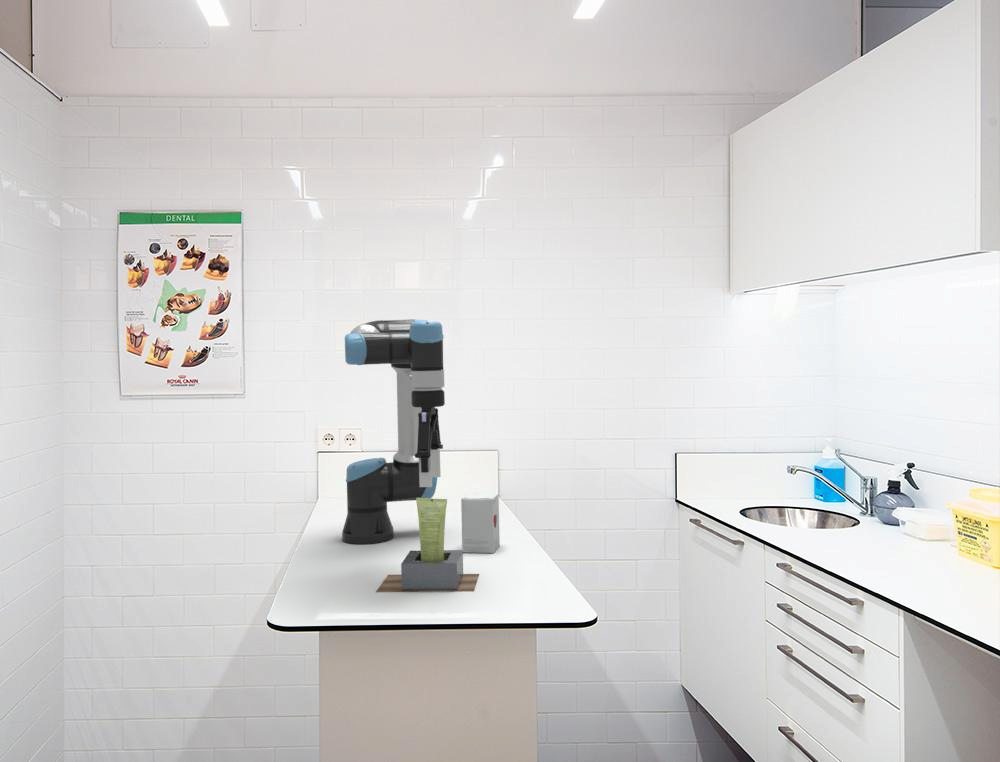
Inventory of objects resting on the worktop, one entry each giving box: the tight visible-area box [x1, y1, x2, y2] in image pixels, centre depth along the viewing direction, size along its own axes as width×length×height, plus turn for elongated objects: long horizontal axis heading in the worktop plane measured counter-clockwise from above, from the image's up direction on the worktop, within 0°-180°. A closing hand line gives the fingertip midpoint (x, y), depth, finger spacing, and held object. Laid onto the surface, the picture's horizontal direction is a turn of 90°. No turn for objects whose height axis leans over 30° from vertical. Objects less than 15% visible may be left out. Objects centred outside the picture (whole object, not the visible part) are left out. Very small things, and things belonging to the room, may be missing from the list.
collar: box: [400, 549, 464, 590], centre depth 182 cm, size 12×12×6 cm
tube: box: [415, 497, 448, 561], centre depth 182 cm, size 6×5×20 cm
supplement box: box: [460, 492, 501, 554], centre depth 218 cm, size 9×9×15 cm
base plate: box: [375, 573, 480, 593], centre depth 182 cm, size 14×22×1 cm, turn 86°
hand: (430, 481), depth 182 cm, fingers open, 13 cm apart
